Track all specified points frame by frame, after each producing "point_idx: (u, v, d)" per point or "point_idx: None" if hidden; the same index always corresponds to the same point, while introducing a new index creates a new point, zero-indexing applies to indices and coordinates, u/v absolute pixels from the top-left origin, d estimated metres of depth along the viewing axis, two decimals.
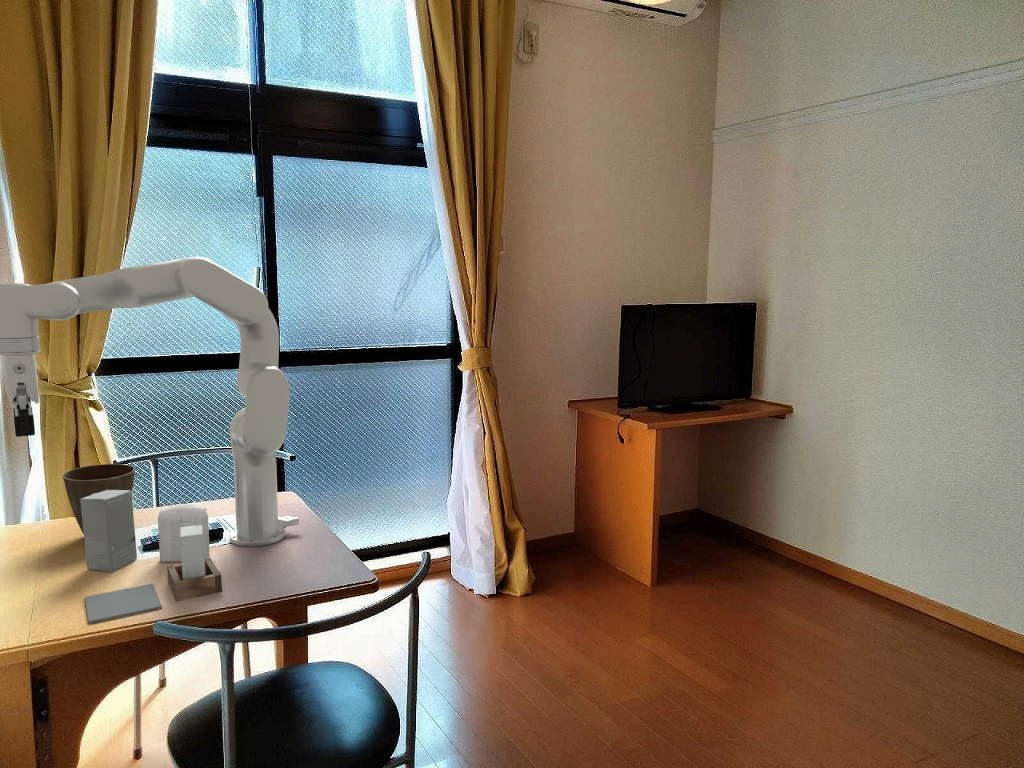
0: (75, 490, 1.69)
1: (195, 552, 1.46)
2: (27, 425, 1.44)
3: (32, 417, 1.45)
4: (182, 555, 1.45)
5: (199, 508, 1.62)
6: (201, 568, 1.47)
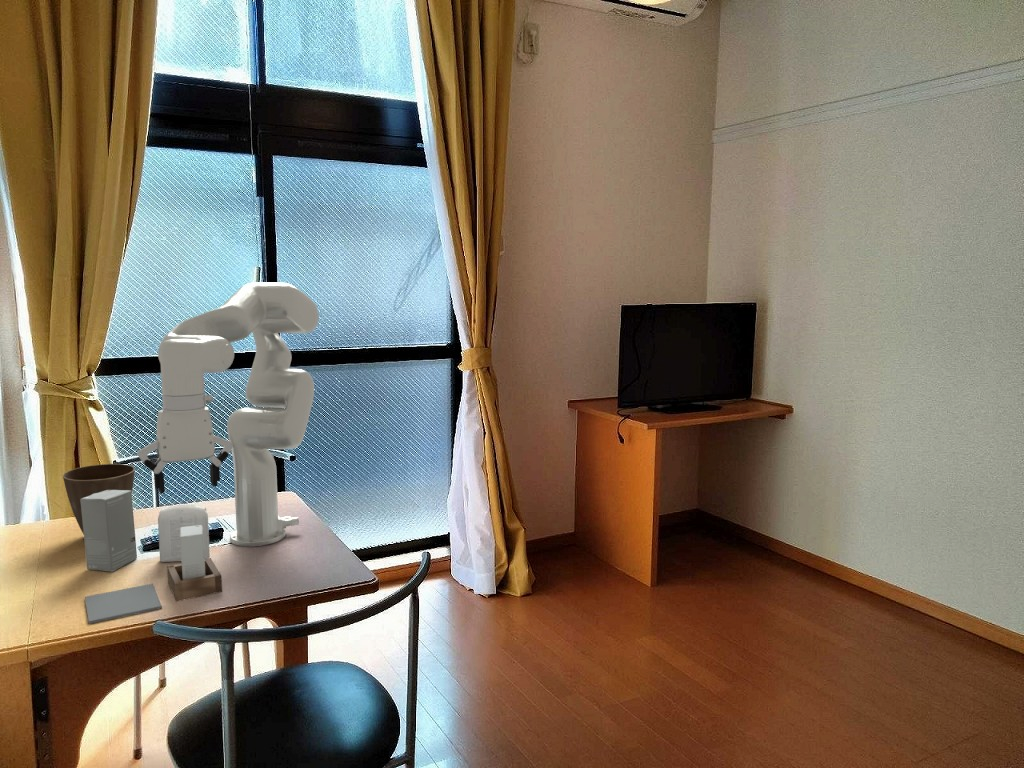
0: (75, 490, 1.69)
1: (195, 552, 1.46)
2: None
3: None
4: (182, 555, 1.45)
5: (199, 508, 1.62)
6: (201, 568, 1.47)
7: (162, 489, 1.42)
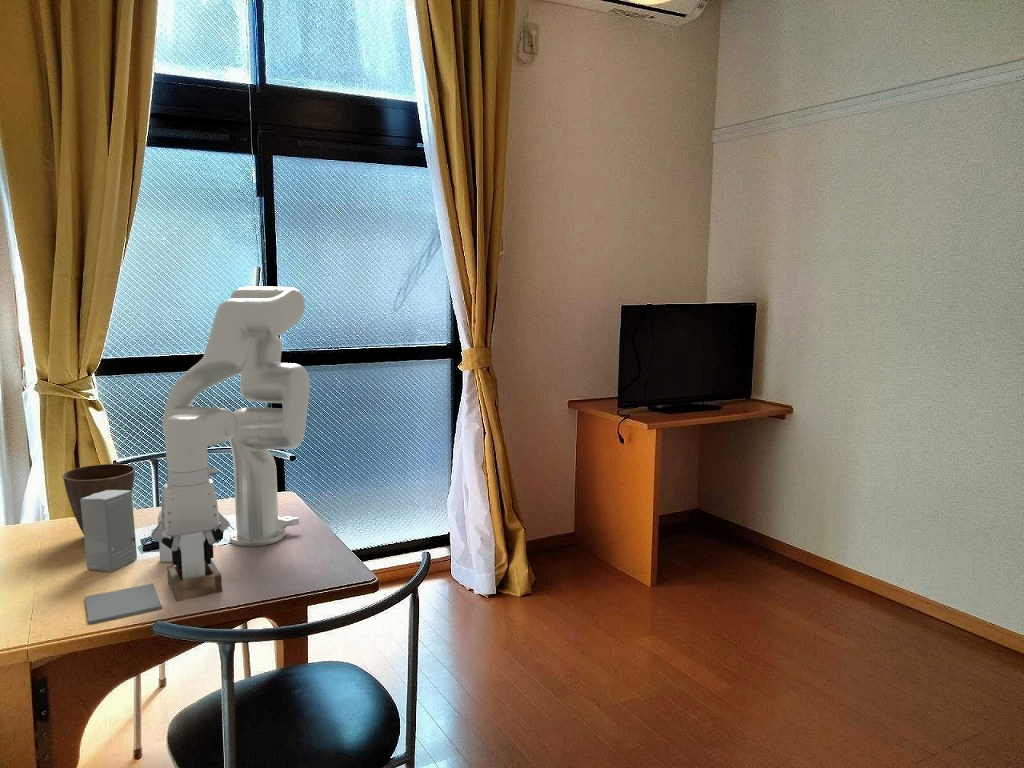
0: (75, 490, 1.69)
1: (195, 552, 1.46)
2: None
3: None
4: (182, 555, 1.45)
5: None
6: (201, 568, 1.47)
7: (179, 566, 1.46)
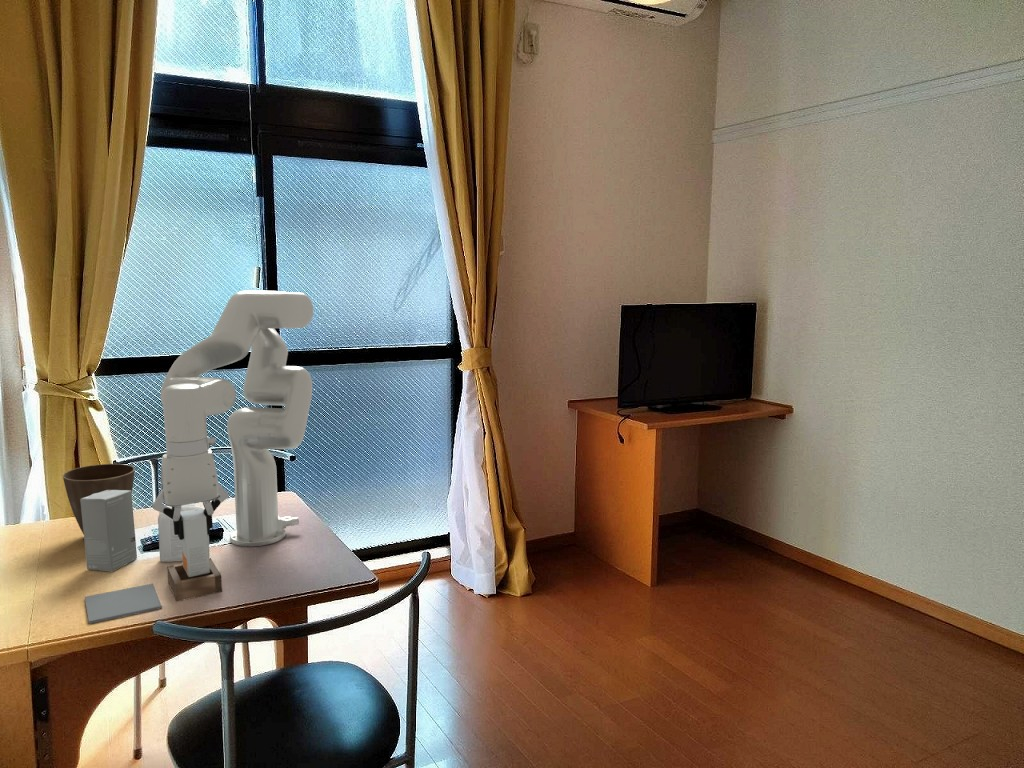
0: (75, 490, 1.68)
1: (199, 534, 1.46)
2: None
3: None
4: (186, 538, 1.45)
5: (199, 508, 1.62)
6: (205, 551, 1.47)
7: (181, 536, 1.46)
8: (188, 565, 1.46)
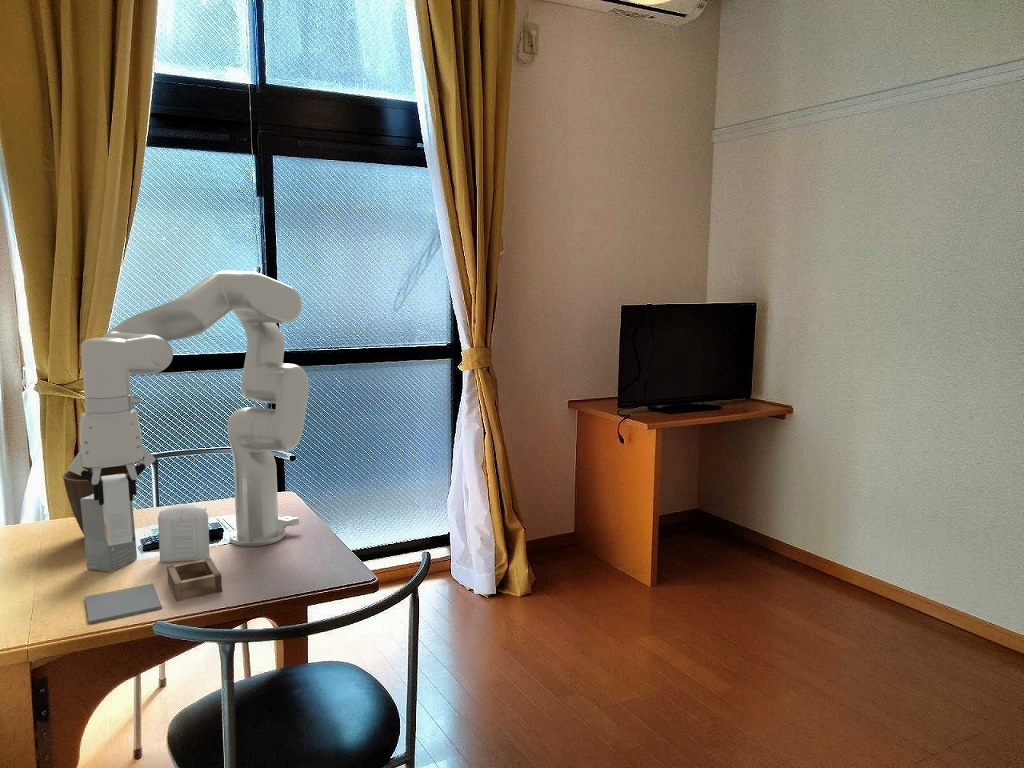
0: (75, 490, 1.69)
1: (120, 500, 1.36)
2: None
3: None
4: (106, 503, 1.35)
5: (199, 508, 1.62)
6: (127, 518, 1.37)
7: (101, 501, 1.36)
8: (108, 532, 1.36)
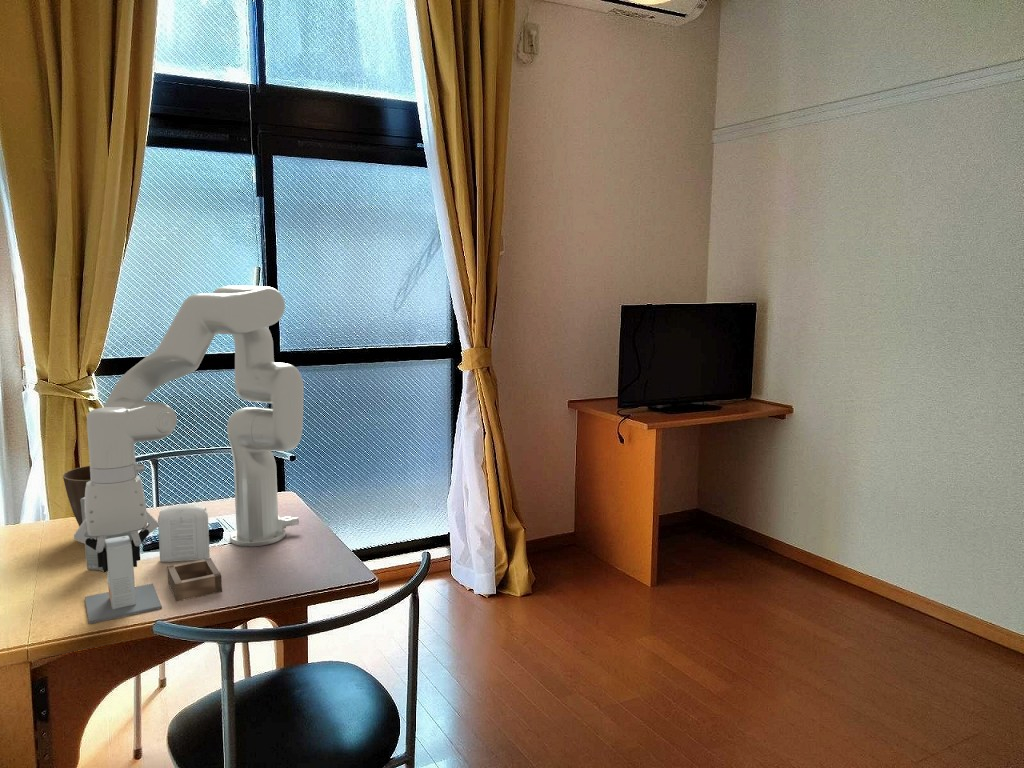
0: (75, 490, 1.69)
1: (124, 564, 1.38)
2: None
3: None
4: (110, 568, 1.37)
5: (199, 508, 1.62)
6: (131, 581, 1.39)
7: (105, 568, 1.37)
8: (112, 596, 1.38)
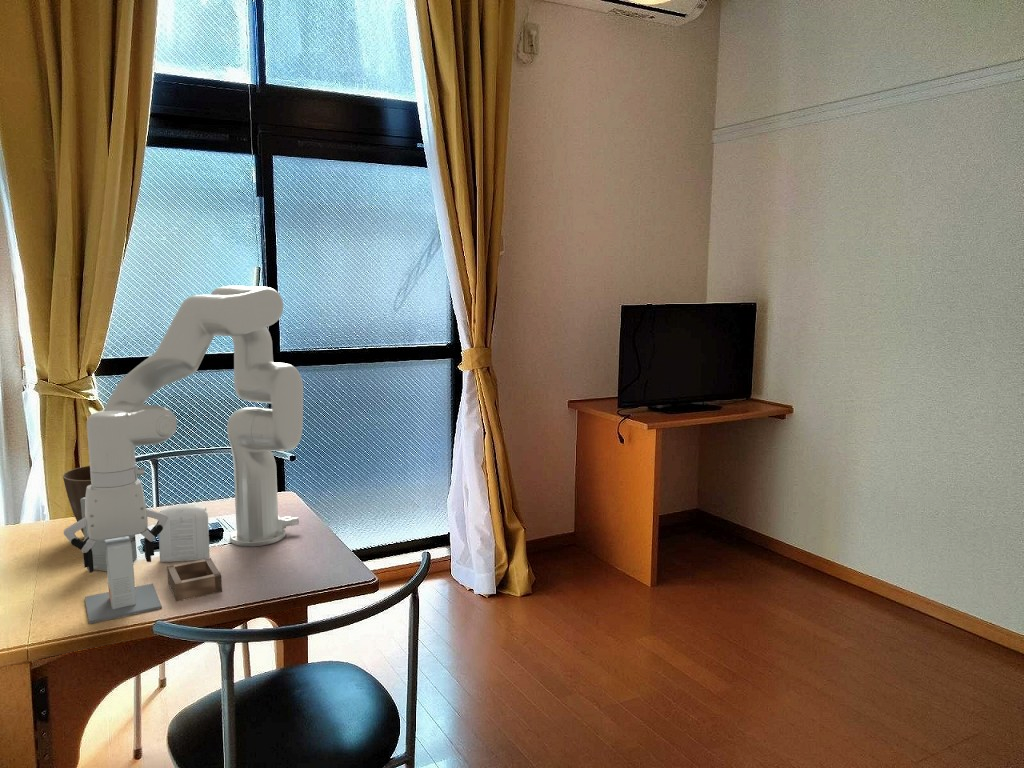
0: (75, 490, 1.68)
1: (124, 564, 1.38)
2: None
3: None
4: (110, 568, 1.37)
5: (199, 508, 1.62)
6: (131, 581, 1.39)
7: (91, 568, 1.36)
8: (112, 596, 1.38)
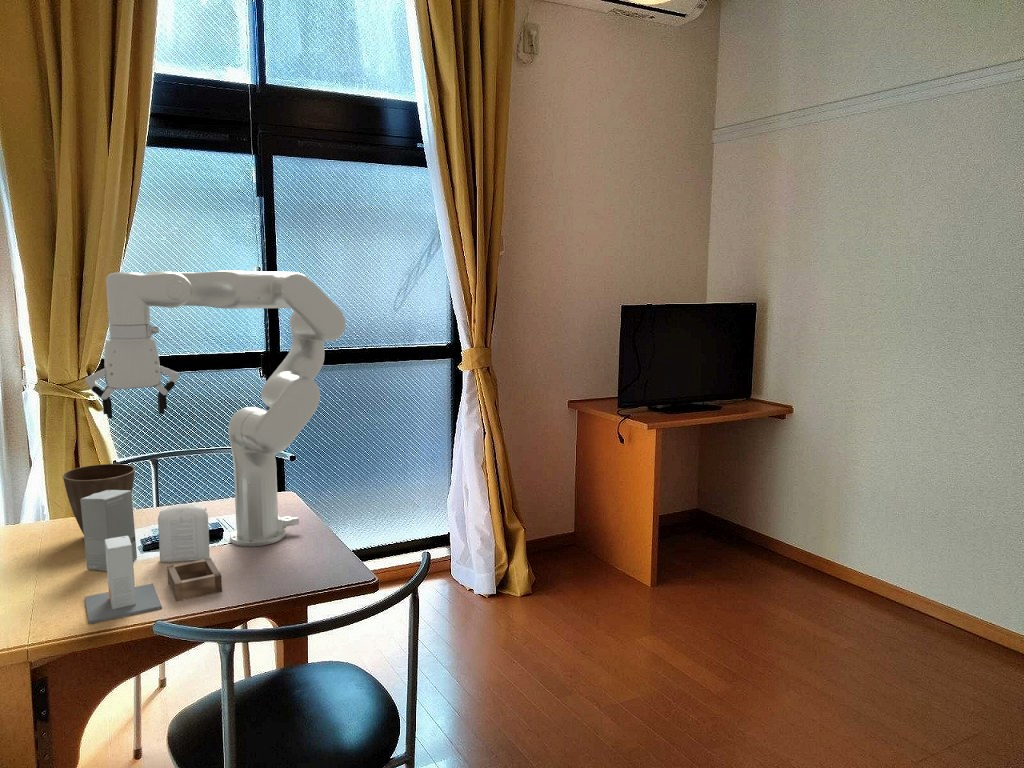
0: (75, 490, 1.69)
1: (124, 564, 1.38)
2: None
3: None
4: (110, 568, 1.37)
5: (199, 508, 1.62)
6: (131, 581, 1.39)
7: (110, 414, 1.50)
8: (112, 596, 1.38)
